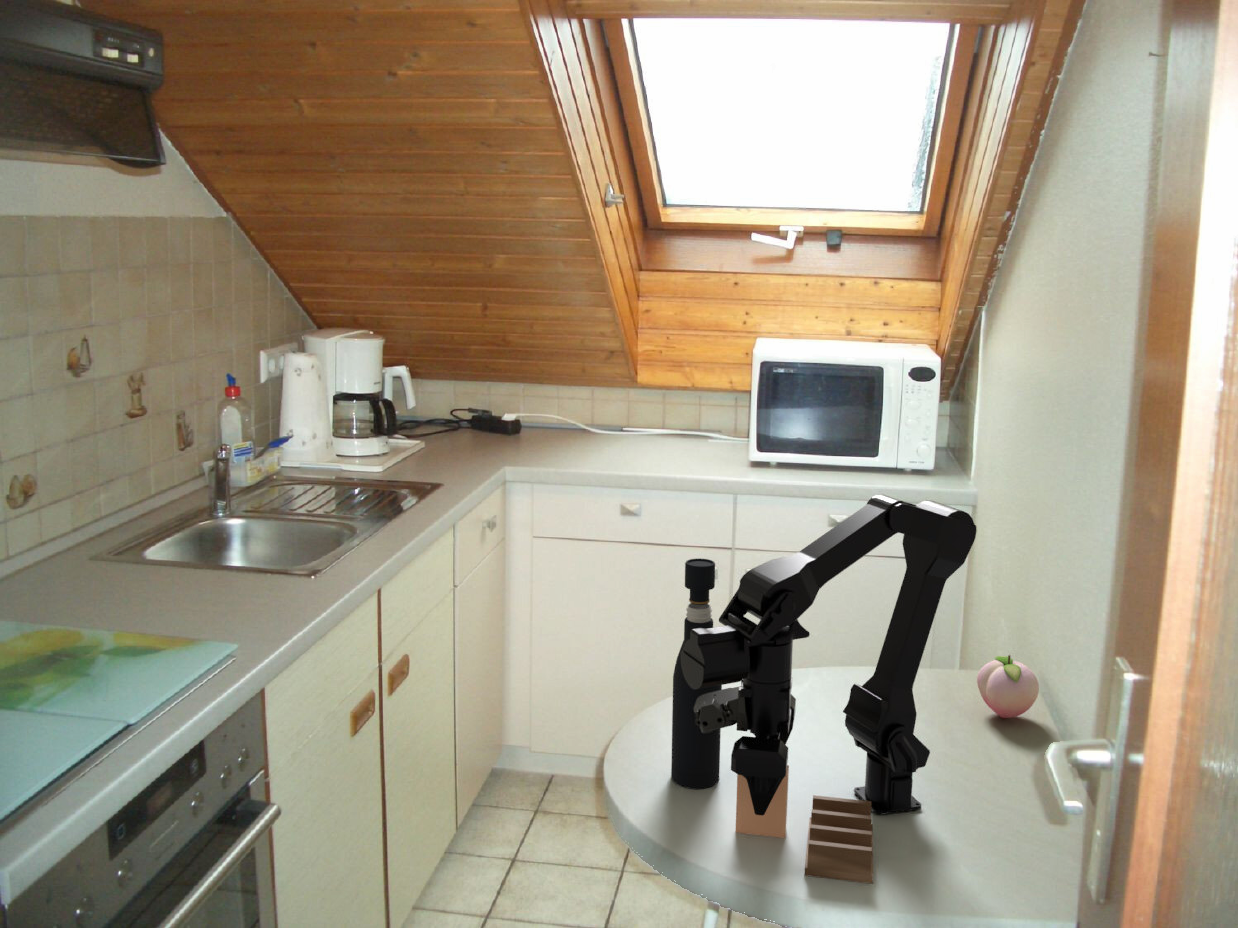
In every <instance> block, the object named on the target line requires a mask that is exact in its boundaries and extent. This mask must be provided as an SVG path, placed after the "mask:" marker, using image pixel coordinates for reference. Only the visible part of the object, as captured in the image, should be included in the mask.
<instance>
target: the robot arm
mask: <svg viewBox="0 0 1238 928" xmlns="http://www.w3.org/2000/svg"><path fill="white" fill-rule="evenodd" d="M977 532H978V531H977V525H976V524H975V522H974V519H973V517H972V516H971V515H970V514H969V513H968V512H966V511H964V510H962V509H961V510H960V509H959V508H956V507H952V506H949V505H946V504H942V503H941V502H937V501H935V500H924V501H920V502H919V503H918V504H913V503H911V502H907V501H904V500H900V499H898V498H896V497H892V496H889V495H886V494H878V495H874V496H872V497H871V498H870V499H869V500H868V501H867V503H866V505H864V506H862V507H861V508H860V509H859V510H857V511H856V512H854V513H853V514H851V515H849V516H848V517H847V518H846V519H844V520H842V521H841V522H839V523H838V524H837V525H835V526H834V527H832V528H831V529H830V530H828V531H827V532H825V533H824V534H823V535H821V536H819V537H818V538H817V539H815V540H814V541H812V542H811V543H809V544H808V545H807V546H805V547H803V548H802V549H801V550H799V551H797V552H795V553H793V554H791V555H787V556H782V557H778V558H773V559H770V560H768V561H766V562H764V563H762V564H759V565H757V566H755V567H753V568H751V569H749V570H748V571H747V572H745V573H744V574H743V575H742V576H741V578H740V580H739V586H738V588H737V590H736V592H735V593H734V595H733V596H732V598H731V599H730V601H729V602H728V603H727V605H726V607H725V608H724V610H723V612H722V613H721V615H720V616H719V618H718V622H719V623H720V624H722V626H717V627H713V628H708V629H704V628H697V629H692V630H691V631H690V639H689V640H687V641H686V642H685V644H684V646H683V651H681V667H682V671H683V675H684V677H685V680H686V682H687V683H688V685H689V686H690V687H691V688H692V689H695V690H696V689H701V688H707V687H713V686H718V685H722V686H724V685H728V684H730V685H731V684H734V683H739V682H740V686H736V687H727V688H724V689H723V688H722V690H719V691H715V692H711V693H707V694H703V695H701V696H699V697H698V698H697V700H696V703H695V706H694V712H695V715H696V720H695V724H696V725H697V726H700V729H701V732H702V733H710V732H712V731H713V730H716V729H720V728H721V729H724V728H728V727H733V726H734V725H736V731H739V732H748V731H749V733H750V734H753V735H754V736H746V735H743V736H741V737H740V738H738V739H737V740H736V741H735V742H734V743H733V748H732V751H731V755H730V757H731V758H730V759H731V760H730V771H732V772H733V773H735V774H736V775H737V774H738V775H742V776H743V777H744V778H746V780H747V783H748V787H749V791H750V795H751V800H752V804H753V808H754V813H755V814H756V815H764V814H765V812H766V810H767V808H768V806H769V804H770V803H771V801H772V799H773V797H774V795H775V793H776V791H777V789H778V787H779V785H780V783H781V782H782V780H783V778H784V777H785V776H786V771H787V765H788V761H789V760H788V759H789V747H788V745H787V742H788V740H789V738H790V736H791V734H792V731H793V727H794V721H795V716H796V708H797V707H796V704H797V703H796V702H797V699H796V698H795V697H794V695H793V694H792V687H793V677H792V676H793V675H792V672H793V670H792V669H793V647H794V646H793V645H794V640H799V639H806V638H809V637H810V635H811V634H810V631H809V630H807V629H806V628H805V627H803V626H802V624H801V623H800V622H799V618H800V617H801V616H802V615H803V614H804V613H805V612H806V611H807V610H808V609H809V608H810V607H812V605H813V604H814V602H815V599H816V598H817V595H818V593H819V590H821V588H823V587H824V585H825V584H827V583H828V582H831V580H832V579H834V578H835V577H836V576H838V575H840V574H841V573H842V572H844V571H845V570H846V569H848V568H849V567H851V566H852V565H854V564H855V563H856V562H858V561H859V560H861V559H862V558H864V557H865V556H867V555H868V554H869V553H870V552H872V551H874V550H875V549H876V548H877V547H879V546H880V545H882V544H883V543H885V542H886V541H887V540H889V539H891V537H893V536H895V535H896V534H903V538H902V549H903V554H904V559H905V564H906V567H905V572H904V576H903V579H902V583H901V586H900V589H899V591H898V592H899V593H898V595H897V599H896V602H895V605H894V608H893V612H892V613H891V614H892V615H891V618H890V622H889V625H888V628H887V630H886V633H885V634H886V635H885V638H884V641H883V643H882V644H883V645H882V647H881V651H880V653H879V657H878V660H877V664H876V667H875V670H874V672H873V675H872V676H871V677H870V678H869V679H868V680H867V681H866V682H865V683H863V684H862V685H860V684H857V683H854V684H852V686H851V687H850V691H849V696H848V697H849V698H848V701H847V703H846V706H845V707H844V709H843V710H842V712H843V713H844V714H845V719H844V726H845V727H846V729H847V732H848V734H849V735H850V736H851V737H852V738H853V741H854V743H855V746H856V747H857V748H860V749H861V750H863V751H865V752H866V763H865V779H864V780H865V781H864V786H863V785H862V786H858V787H854V788H853V792H854V794H855V795H856V796H857V797H858V798H859V800H863V801H871V812H873V813H874V814H875V813H876V814H875V815H885V813H886V814H894V813H898V812H899V813H900V812H907V811H916V810H921V809H922V803H921V802H919V800H918V799H916V798H915V797H914V796H913V793H912V792H913V781H914V780H913V773H917V770H918V769H920V768H925V767H926V765H927V762H928V759H929V757H930V754H931V752H930V751H931V750H930V749H929V748H927V746H926V745H925V744H924V743H922V741H921V740H919V739H918V737H917V736H916V735H915V734H914V733H915V732H914V731H915V726H916V720H917V715H918V714H917V709H916V702H915V698H914V692H913V688H914V684H915V681H916V677H917V675H918V671H919V667H920V665H921V661H922V658H923V655H924V651H925V649H926V645H927V642H928V640H929V635H930V633H931V630H932V626H933V624H934V623H933V622H934V620H935V617H936V613H937V609H938V607H939V603H940V602H941V601H940V600H941V597H942V595H943V592H944V591H943V590H944V587H945V585H946V581H947V580H948V579H949V578H950V577H951V576H952V575H953V574H954V573H956V571H958V570H959V569H960V568H961V567H962V566H963V565H965V562H966V560H967V557H968V555H969V554H970V551H971V549H972V547H973V546H974V542H975V540H976V536H977ZM748 613H749V614H750V615H752V616H754V617H755V618H757V619H758V620H759V622H758V623H755V622H754V621H752V620H750V619H749V618H747V617H746V616H745V615H746V614H748Z"/></svg>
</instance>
